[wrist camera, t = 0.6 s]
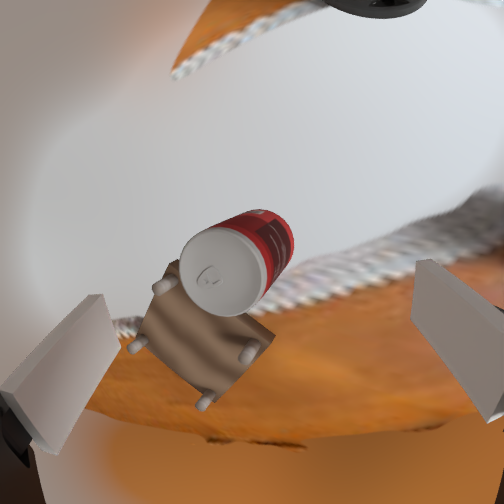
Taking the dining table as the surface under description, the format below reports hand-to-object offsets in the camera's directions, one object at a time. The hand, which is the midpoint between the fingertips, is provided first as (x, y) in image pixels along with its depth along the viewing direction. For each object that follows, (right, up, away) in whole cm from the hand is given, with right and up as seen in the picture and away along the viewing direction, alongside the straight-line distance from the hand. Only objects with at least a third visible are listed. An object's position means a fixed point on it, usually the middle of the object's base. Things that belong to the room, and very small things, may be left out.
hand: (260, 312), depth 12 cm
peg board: (-8, -9, +30) cm, 32 cm away
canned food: (+1, +3, +23) cm, 23 cm away
